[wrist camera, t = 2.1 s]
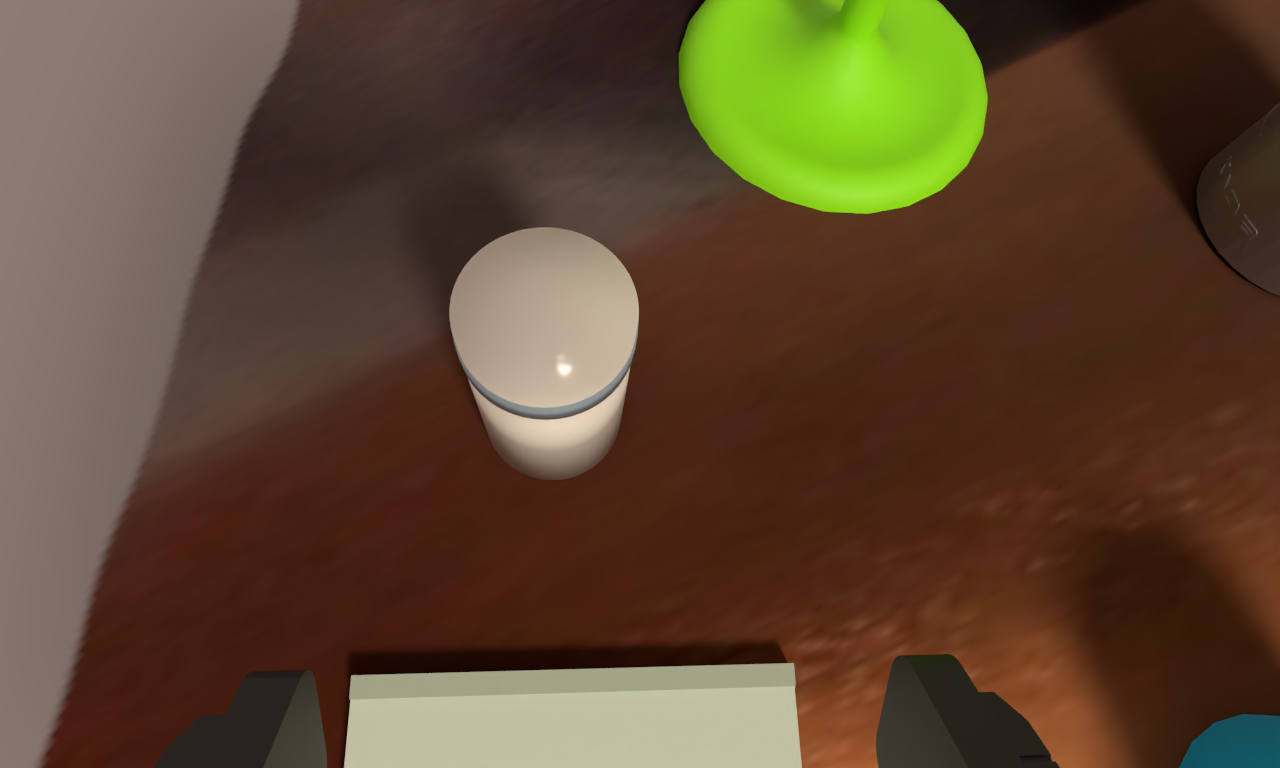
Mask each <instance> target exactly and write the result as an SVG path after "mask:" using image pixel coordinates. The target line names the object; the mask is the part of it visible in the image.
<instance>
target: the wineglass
mask: <svg viewBox="0 0 1280 768" xmlns="http://www.w3.org/2000/svg"><path fill="white" fill-rule="evenodd" d="M679 87H680V90H681V93H682V96H683V99H684V102H685V105H686V108H687V111H688V114H689V117H690V120H691V121H692V123H693V124H694V126H695V127H696V128H697V130H698V131H699V133H700V134H701V136H702V137H703V139H704V140H705V141H706V143H707V144H708V146H709V147H710V149H711V150H712V152H713V153H715V154H716V155H717V156H718V157H719V158H720V159H721V160H723V161H724V162H725V163H726V164H727V165H728V166H730V167H731V168H732V169H733V170H734V171H735V172H736V173H738V174H739V175H740V176H741V177H742V178H743V179H745V180H747V181H748V182H750V183H752V184H754V185H756V186H758V187H760V188H761V189H763V190H765V191H767V192H769V193H771V194H773V195H775V196H776V197H778V198H780V199H782V200H785V201H789V202H792V203H796V204H800V205H803V206H807V207H810V208H814V209H818V210H821V211H825V212H843V213H863V214H869V213H875V212H880V211H885V210H890V209H896V208H901V207H906V206H909V205H911V204H913V203H915V202H918V201H920V200H922V199H924V198H926V197H928V196H930V195H932V194H934V193H936V192H938V191H940V190H942V189H943V188H944V187H945V186H946V185H947V184H948V183H949V182H950V181H951V180H952V179H954V178H955V177H956V176H957V175H958V174H959V173H960V172H961V171H962V170H963V169H964V168H965V167H966V166H967V165H968V163H969V161H970V159H971V157H972V155H973V153H974V151H975V149H976V147H977V146H978V144H979V142H980V140H981V138H982V135H983V130H984V123H985V116H986V109H987V102H988V96H987V91H986V85H985V80H984V74H983V69H982V64H981V62H980V60H979V58H978V56H977V54H976V52H975V50H974V48H973V46H972V44H971V42H970V40H969V38H968V36H967V34H966V32H965V31H964V29H963V28H962V27H961V26H960V25H959V24H958V22H957V21H956V20H955V19H954V18H953V17H952V15H951V14H950V13H949V12H948V11H947V10H946V8H945V7H944V6H943V5H942V4H941V3H939V2H938V1H937V0H705V2H704V3H703V4H702V6H701V7H700V8H699V10H698V11H697V12H696V13H695V15H694V16H693V17H692V19H691V20H690V22H689V24H688V27H687V30H686V33H685V36H684V39H683V42H682V45H681V48H680V51H679Z"/></svg>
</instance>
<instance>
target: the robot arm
mask: <svg viewBox="0 0 1280 768" xmlns="http://www.w3.org/2000/svg"><path fill="white" fill-rule="evenodd" d="M1196 202H1197V207H1198V212H1199V217H1200V220H1201V222H1202V224H1203V227H1204V229H1205V231H1206V234H1207V236H1208V237H1209V239H1210V240H1211V242H1212V243H1213V245H1214V246H1215V248H1216V249H1217V251H1218V252H1219V253H1220V254H1221V255H1222V257H1223V258H1224V259H1225V260H1226V261H1227V262H1228V263H1229V264H1230V265H1231V266H1232V267H1233V268H1234V269H1235V270H1237V271H1238V272H1239V273H1240V274H1242V275H1243V276H1244V277H1245V278H1247V279H1248V280H1249V281H1251V282H1252V283H1254V284H1256V285H1258V286H1259V287H1261V288H1263V289H1265V290H1267V291H1268V292H1271V293H1273V294H1276V295H1279V296H1280V103H1279V104H1277V105H1276V106H1275V107H1274V108H1273V109H1271V110H1270V111H1269V112H1268V113H1267V114H1265V115H1264V116H1263V117H1262V118H1261V119H1260V120H1258V121H1257V122H1256V123H1255V124H1254V125H1252V126H1251V127H1250V128H1249V129H1248V130H1246V131H1245V132H1244V133H1243V134H1241V135H1240V136H1239V137H1238V138H1237V139H1235V140H1234V141H1233V142H1232V143H1230V144H1229V145H1228V146H1227V147H1225V148H1224V149H1223V150H1222V151H1221V152H1219V153H1218V154H1217V155H1216V156H1214V157H1213V158H1212V159H1211V160H1210V161H1209V162H1208V164H1207V165H1206V166H1205V168H1204V169H1203V171H1202V172H1201V175H1200V178H1199V181H1198V184H1197V199H1196ZM876 750H877V760H878V765H879V768H1060V767H1059V766H1058V765H1057V763H1056V762H1052V760H1051V754H1050V753H1049V751H1048V750H1047V748H1046V747H1045V745H1044V744H1043V742H1042V741H1041V740H1040V738H1039V737H1038V735H1037V734H1036V732H1035V731H1034V729H1033V728H1032V726H1031V725H1030V723H1029V722H1028V721H1027V720H1026V719H1025V718H1024V717H1023V716H1022V715H1020V714H1019V713H1018V712H1017V711H1016V710H1015V709H1013V708H1012V707H1011V706H1010V705H1009V704H1007V703H1006V702H1005V701H1004V700H1003V699H1002V698H1000V697H999V696H998V695H997V694H996V693H994V692H978V690H977V689H976V687H975V686H974V684H973V683H972V681H971V679H970V678H969V676H968V675H967V673H966V672H965V670H964V668H963V667H962V665H961V664H960V662H959V661H958V660H957V659H956V658H955V657H954V656H952V655H949V654H942V655H906V656H898V657H896V658H895V660H894V662H893V664H892V667H891V672H890V676H889V681H888V685H887V690H886V695H885V699H884V704H883V708H882V713H881V717H880V722H879V726H878V731H877V738H876ZM155 768H327V754H326V746H325V740H324V733H323V727H322V720H321V714H320V707H319V701H318V694H317V688H316V682H315V677H314V674H313V673H312V671H311V670H285V671H252V672H250V673H249V674H247V676H246V677H245V678H244V680H243V682H242V683H241V685H240V687H239V689H238V691H237V693H236V695H235V697H234V699H233V701H232V703H231V705H230V707H229V709H228V711H227V713H226V715H201V716H200V717H199V718H198V719H197V720H196V721H195V722H194V723H193V724H191V725H190V726H189V727H188V728H187V729H186V730H185V731H184V732H183V733H182V734H181V735H180V736H179V737H178V738H177V739H176V740H175V741H173V742H172V743H171V744H170V745H169V746H168V747H167V748H166V749H165V750H164V752H163V754H162V756H161V757H160V759H159V761H158V763H157V764H156V766H155Z"/></svg>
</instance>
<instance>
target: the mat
mask: <svg viewBox="0 0 1280 768" xmlns="http://www.w3.org/2000/svg"><path fill="white" fill-rule="evenodd" d="M794 686H796V682H795V671H794V663H777V664H741V665H705V666H669V667H633V668H597V669H561V670H525V671H488V672H452V673H416V674H380V675H351V683H350V694H349V700H350V710H349V720H348V731H347V742H346V752H345V763H344V768H802V765H801V754H800V743H799V731H798V720H797V709H796V698H795V687H794Z"/></svg>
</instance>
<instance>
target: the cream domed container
mask: <svg viewBox="0 0 1280 768" xmlns="http://www.w3.org/2000/svg"><path fill="white" fill-rule="evenodd" d="M449 317H450V325H451V331H452V334H453V340H454V345H455V348H456V351H457V354H458V357H459V360H460V363H461V365H462V368H463V370H464V372H465V374H466V376H467V378H468V380H469V383H470V386H471V388H472V391H473V394H474V397H475V400H476V403H477V405H478V408H479V411H480V414H481V417H482V419H483V422H484V425H485V428H486V431H487V433H488V436H489V439H490V441H491V443H492V445H493V447H494V449H495V450H496V452H497V453H498V455H499V456H500V457H501V458H502V459H503V460H504V461H505V462H506V463H507V464H508V465H509V466H510V467H512V468H513V469H515V470H516V471H518V472H520V473H522V474H524V475H526V476H530V477H533V478H536V479H542V480H563V479H568V478H572V477H575V476H578V475H580V474H582V473H585V472H587V471H588V470H590V469H591V468H593V467H594V466H596V465H597V464H598V463H599V462H600V461H601V460H602V459H603V458H604V457H605V456H606V455H607V454H608V452H609V451H610V449H611V448H612V446H613V444H614V442H615V440H616V438H617V435H618V432H619V427H620V422H621V416H622V411H623V405H624V399H625V394H626V388H627V383H628V377H629V371H630V366H631V363H632V360H633V357H634V352H635V346H636V341H637V335H638V319H639V306H638V298H637V294H636V290H635V287H634V284H633V282H632V279H631V277H630V275H629V274H628V272H627V270H626V268H625V267H624V266H623V264H622V263H621V262H620V261H619V259H618V258H617V257H616V256H615V255H614V254H613V253H612V252H611V251H609V250H608V249H607V248H606V247H604V246H603V245H602V244H600V243H598V242H597V241H595V240H593V239H592V238H589V237H587V236H585V235H583V234H580V233H577V232H574V231H570V230H565V229H560V228H550V227H541V228H530V229H523V230H519V231H516V232H512V233H509V234H507V235H504V236H502V237H500V238H498V239H496V240H494V241H492V242H490V243H489V244H488V245H486V246H485V247H483V248H482V249H481V250H479V251H478V252H477V253H476V254H475V255H474V256H473V257H472V258H471V259H470V260H469V262H468V263H467V264H466V265H465V267H464V268H463V270H462V271H461V273H460V274H459V276H458V278H457V281H456V283H455V285H454V288H453V291H452V295H451V300H450V307H449Z"/></svg>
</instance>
